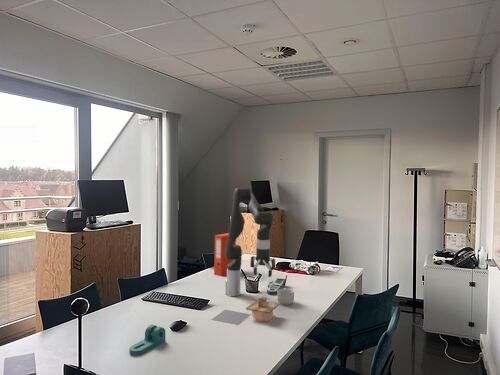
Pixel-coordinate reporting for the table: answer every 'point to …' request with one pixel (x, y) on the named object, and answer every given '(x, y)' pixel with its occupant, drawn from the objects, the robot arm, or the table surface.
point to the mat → (231, 317)
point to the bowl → (262, 316)
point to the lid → (262, 306)
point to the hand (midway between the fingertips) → (262, 275)
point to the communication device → (276, 285)
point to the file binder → (221, 255)
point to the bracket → (149, 340)
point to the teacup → (285, 296)
